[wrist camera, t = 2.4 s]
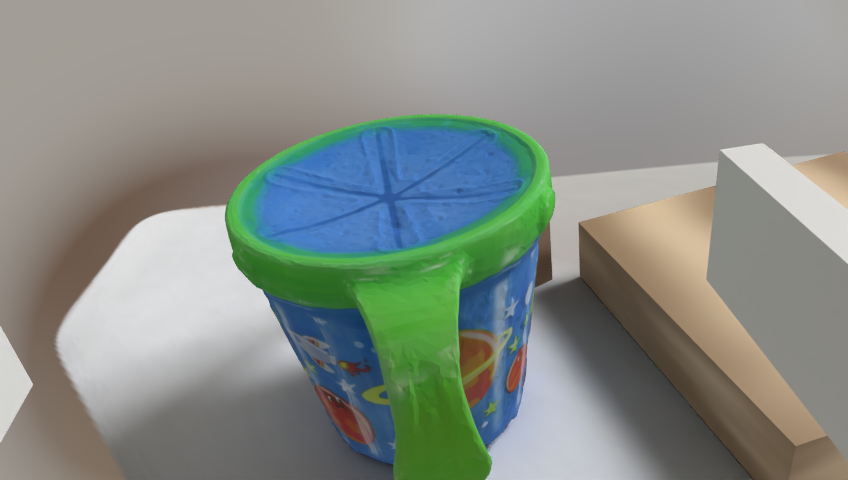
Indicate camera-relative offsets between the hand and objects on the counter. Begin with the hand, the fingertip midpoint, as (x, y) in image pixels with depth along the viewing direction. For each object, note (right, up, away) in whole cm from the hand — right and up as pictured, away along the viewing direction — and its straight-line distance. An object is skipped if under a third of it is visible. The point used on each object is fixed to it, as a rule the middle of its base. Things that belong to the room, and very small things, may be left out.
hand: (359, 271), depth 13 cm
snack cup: (+1, -6, +15) cm, 17 cm away
